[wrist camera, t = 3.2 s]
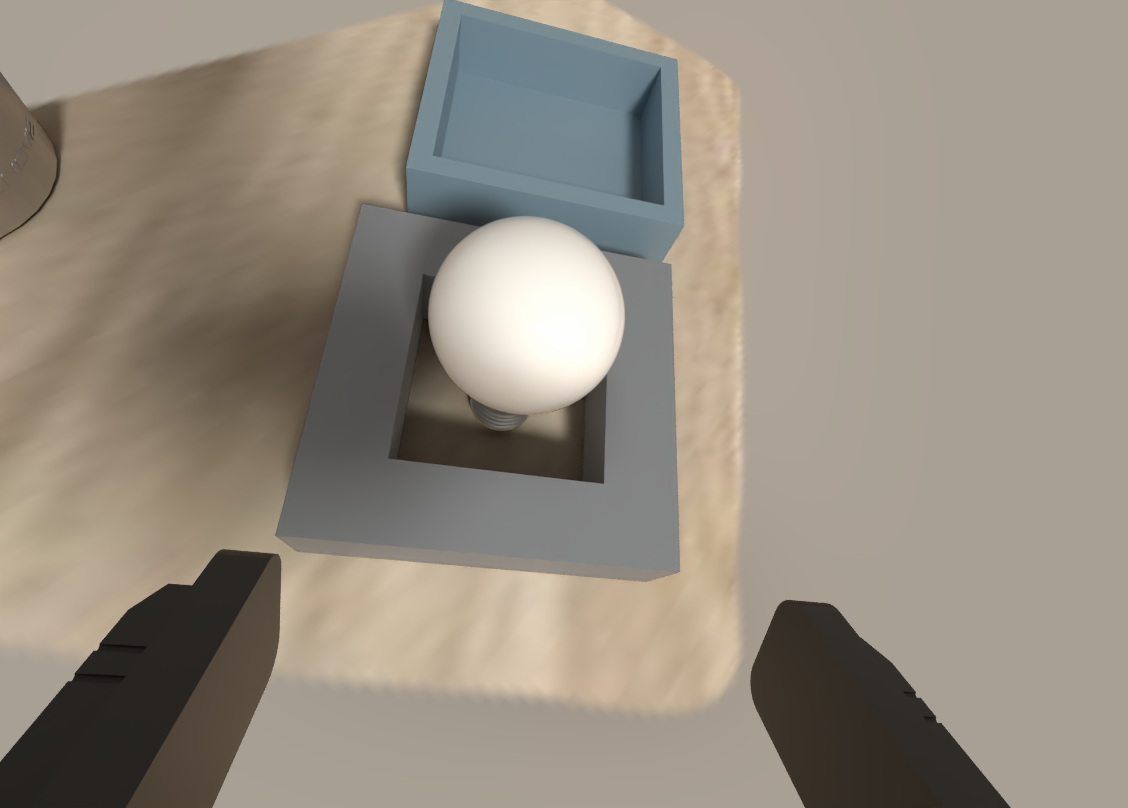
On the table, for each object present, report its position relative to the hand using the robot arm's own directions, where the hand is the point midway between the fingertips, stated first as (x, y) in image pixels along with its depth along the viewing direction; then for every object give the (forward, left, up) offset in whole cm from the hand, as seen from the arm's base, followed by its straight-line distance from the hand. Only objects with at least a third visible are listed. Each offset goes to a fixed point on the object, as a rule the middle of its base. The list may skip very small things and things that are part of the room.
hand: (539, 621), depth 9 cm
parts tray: (+1, +25, -14) cm, 28 cm away
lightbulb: (0, +10, -14) cm, 17 cm away
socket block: (0, +10, -14) cm, 17 cm away
